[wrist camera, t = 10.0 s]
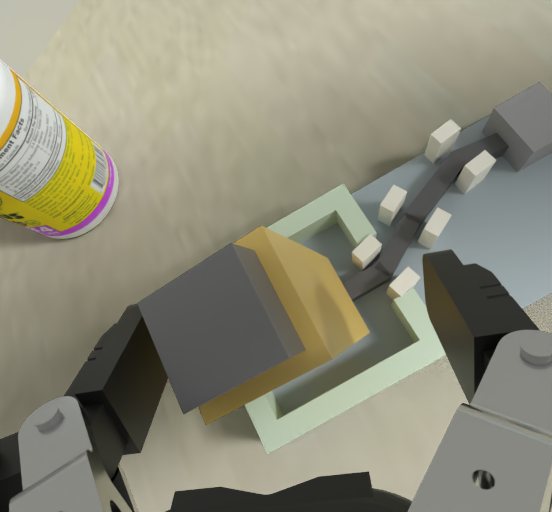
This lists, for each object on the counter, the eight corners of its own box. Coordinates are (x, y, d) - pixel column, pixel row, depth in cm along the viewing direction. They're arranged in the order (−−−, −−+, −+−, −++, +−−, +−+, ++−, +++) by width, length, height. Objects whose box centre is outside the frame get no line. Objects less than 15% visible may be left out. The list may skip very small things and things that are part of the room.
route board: (506, 113, 22) (530, 72, 19) (628, 248, 19) (679, 225, 16) (205, 286, 23) (182, 273, 20) (279, 442, 20) (266, 455, 17)
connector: (327, 257, 20) (238, 214, 10) (370, 332, 19) (319, 368, 9) (260, 297, 21) (115, 295, 11) (296, 370, 20) (175, 443, 10)
